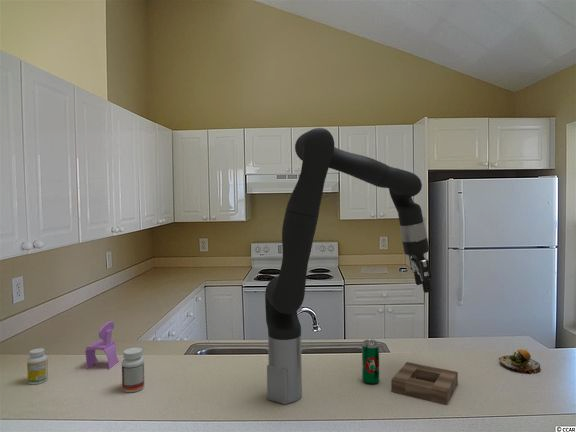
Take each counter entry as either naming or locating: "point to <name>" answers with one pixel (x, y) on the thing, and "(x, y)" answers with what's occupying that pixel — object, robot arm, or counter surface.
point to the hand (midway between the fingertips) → (423, 288)
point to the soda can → (370, 361)
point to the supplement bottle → (37, 367)
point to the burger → (521, 362)
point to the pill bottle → (132, 370)
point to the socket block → (425, 382)
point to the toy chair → (103, 347)
